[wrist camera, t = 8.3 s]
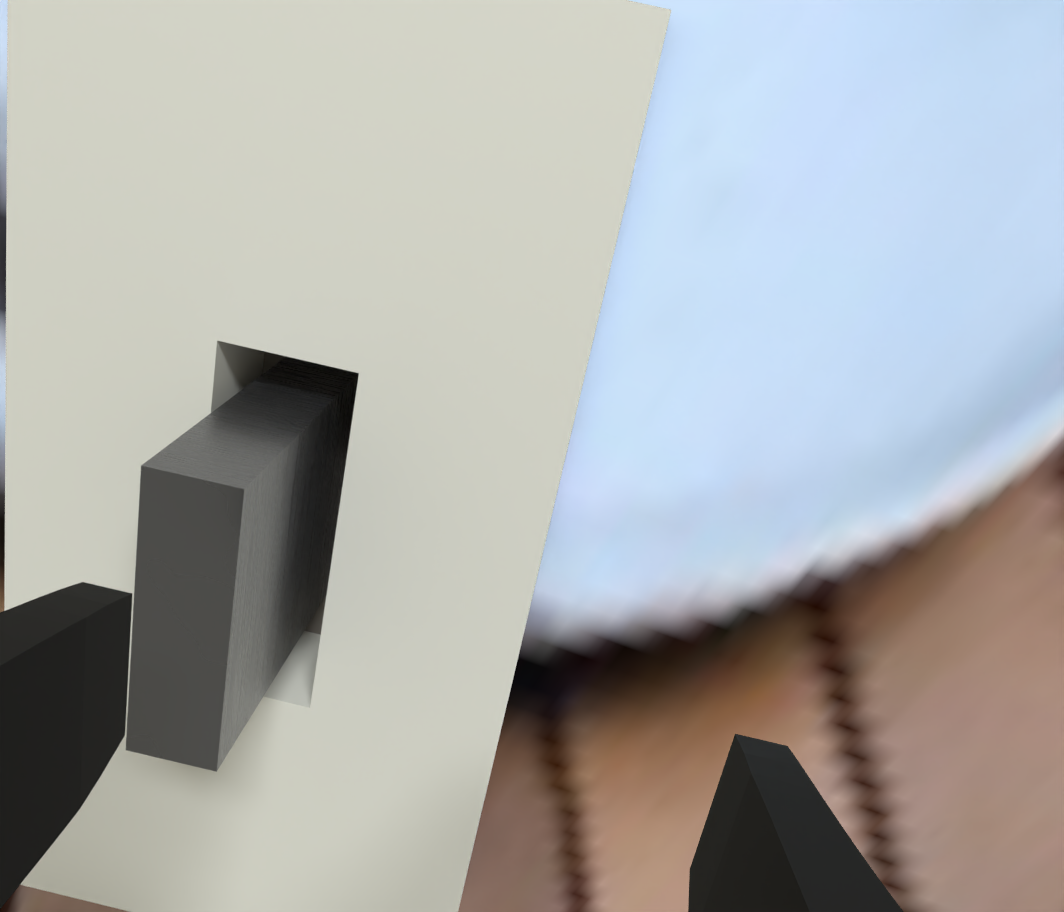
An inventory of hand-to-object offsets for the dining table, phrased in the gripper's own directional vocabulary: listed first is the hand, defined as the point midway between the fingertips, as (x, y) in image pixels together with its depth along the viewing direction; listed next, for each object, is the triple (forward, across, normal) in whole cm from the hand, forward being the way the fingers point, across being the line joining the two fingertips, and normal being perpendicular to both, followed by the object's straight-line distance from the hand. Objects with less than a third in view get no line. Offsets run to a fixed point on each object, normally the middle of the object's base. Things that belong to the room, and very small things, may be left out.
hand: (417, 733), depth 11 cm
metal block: (+9, +4, +1) cm, 10 cm away
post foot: (+9, +4, +1) cm, 10 cm away
